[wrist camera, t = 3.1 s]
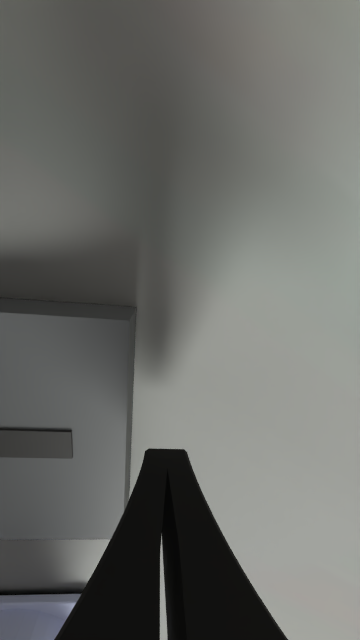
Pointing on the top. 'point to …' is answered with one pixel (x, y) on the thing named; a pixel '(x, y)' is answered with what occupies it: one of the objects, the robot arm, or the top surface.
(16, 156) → the top surface
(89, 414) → the fader panel
